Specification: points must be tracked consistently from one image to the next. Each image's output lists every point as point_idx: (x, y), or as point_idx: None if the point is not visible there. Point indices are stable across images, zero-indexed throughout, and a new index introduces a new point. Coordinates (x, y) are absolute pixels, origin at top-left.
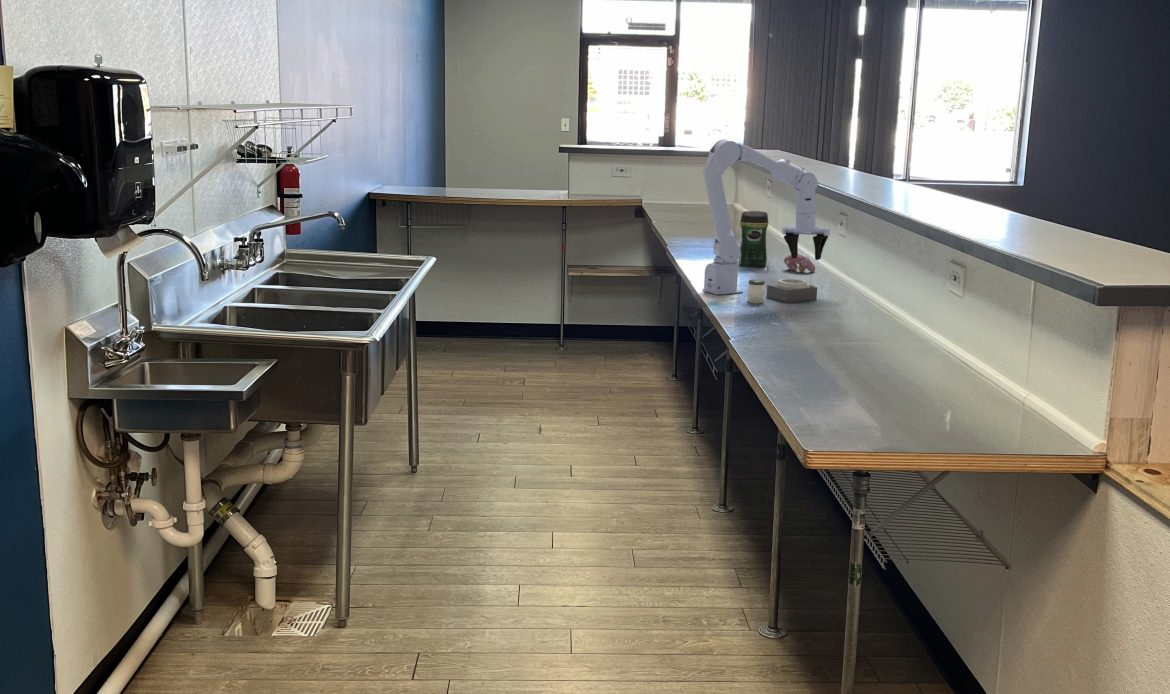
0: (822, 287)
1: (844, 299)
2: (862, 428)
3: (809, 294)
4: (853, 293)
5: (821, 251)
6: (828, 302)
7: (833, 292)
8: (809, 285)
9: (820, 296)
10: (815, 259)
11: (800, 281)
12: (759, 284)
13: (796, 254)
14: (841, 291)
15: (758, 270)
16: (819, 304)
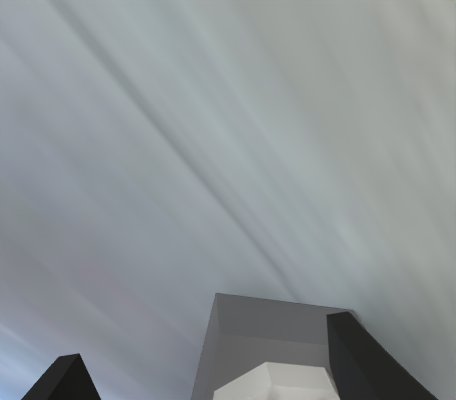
0: (169, 4)
1: (446, 210)
2: None
3: None
4: (413, 19)
5: (398, 376)
6: (421, 315)
7: (314, 98)
8: (323, 346)
9: (327, 245)
10: (332, 370)
11: (295, 396)
12: None
13: (71, 396)
14: (330, 24)
15: None
16: (412, 367)
